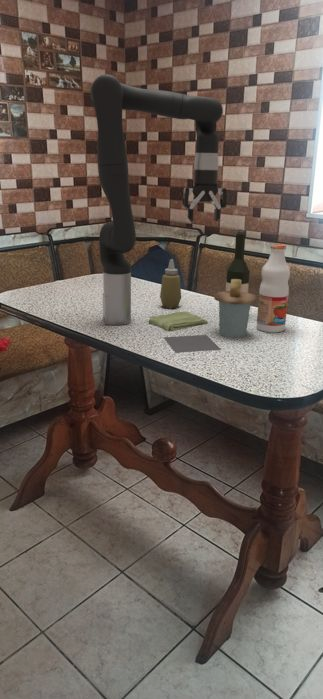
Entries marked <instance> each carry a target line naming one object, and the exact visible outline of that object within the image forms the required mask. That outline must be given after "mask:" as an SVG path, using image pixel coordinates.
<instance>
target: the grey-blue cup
mask: <svg viewBox="0 0 323 699" xmlns="http://www.w3.org/2000/svg"><path fill="white" fill-rule="evenodd" d="M251 306H252V303H250V304H228V303H223V302H219V301H218V308H219V309H218V310H219V312H218V317H219V318H218V320H219V321H218V326H219V328H218V333H219V335H220V336H222V337H225V338H231V339H239V338H243V337H246V335H247V331H248V330H247V328H248V324H249V318H250V317H249V316H250V310H251Z"/></svg>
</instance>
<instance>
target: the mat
mask: <svg viewBox="0 0 323 699" xmlns="http://www.w3.org/2000/svg"><path fill="white" fill-rule="evenodd" d="M163 339H164V340H165V342H166V343H167V344H168V345H169V347H170V348H171V349H172V351H173V352H174V353H175V354H176V353H177V354H178V353H193V352H195V353H196V352H206V351H209V352H210V351H221V350H222V348H220V346H219V345H217V344H216V343H215V342H214V341H213V340H212V339H211V338H210V337H209V336H208V335H207V334H197V335H196V334H195V335H180V336H165V337H164V336H163Z"/></svg>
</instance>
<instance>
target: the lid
mask: <svg viewBox="0 0 323 699" xmlns="http://www.w3.org/2000/svg"><path fill="white" fill-rule="evenodd" d="M213 297H214V298H213V299H214V300H215V301H217V302H218V303H219V302H223V303H228V304H250V303H251V304H253V303H255V302H256V301H257V296H256V295H255V294H254V293H250V292H248V293H247V292H241V280H240V279H231V289H230V291H226V290H223V291H218V292H216V293H214V295H213Z"/></svg>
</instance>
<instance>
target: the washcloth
mask: <svg viewBox="0 0 323 699" xmlns="http://www.w3.org/2000/svg"><path fill="white" fill-rule="evenodd" d="M147 322H148V324H149V325H153V326H155V327H158V328H161V329H163V330H164V331H167V332H175V331H179V330H184V329H187V328H191V327H195V326H199V325H206V324H209V321H208V320H207V319H205V318H203V317H200V316H199V315H198V314H193V313H191V312H189V311H187V310H186V311H175V312H171V313H168V314H160V315H155V316H152V317H150V318H149V319H148V321H147Z"/></svg>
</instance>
